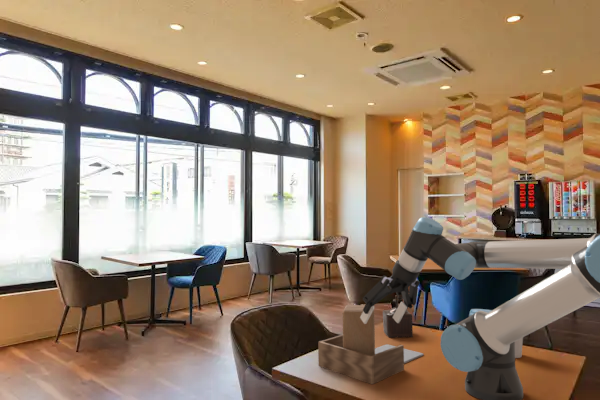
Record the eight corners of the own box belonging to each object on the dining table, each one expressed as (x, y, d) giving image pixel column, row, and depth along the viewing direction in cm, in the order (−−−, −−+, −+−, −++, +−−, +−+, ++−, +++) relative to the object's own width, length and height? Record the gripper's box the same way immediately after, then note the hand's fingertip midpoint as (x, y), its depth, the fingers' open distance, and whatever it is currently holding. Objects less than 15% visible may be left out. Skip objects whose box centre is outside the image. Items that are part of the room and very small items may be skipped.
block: (374, 374, 136) (373, 311, 136) (343, 372, 138) (342, 310, 138) (375, 363, 146) (374, 305, 146) (345, 362, 148) (345, 304, 148)
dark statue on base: (415, 337, 176) (414, 293, 177) (388, 338, 176) (387, 294, 177) (404, 327, 192) (403, 287, 193) (380, 328, 191) (379, 287, 192)
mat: (423, 355, 154) (423, 353, 154) (403, 364, 145) (403, 362, 145) (386, 345, 166) (386, 344, 166) (365, 353, 157) (365, 351, 157)
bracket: (404, 369, 139) (403, 345, 140) (372, 384, 128) (371, 357, 128) (351, 354, 156) (350, 332, 156) (318, 365, 144) (318, 341, 145)
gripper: (429, 260, 136) (401, 312, 144) (370, 255, 124) (342, 312, 131) (445, 275, 130) (415, 328, 138) (384, 271, 118) (354, 329, 125)
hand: (379, 320), depth 134 cm, fingers open, 13 cm apart
